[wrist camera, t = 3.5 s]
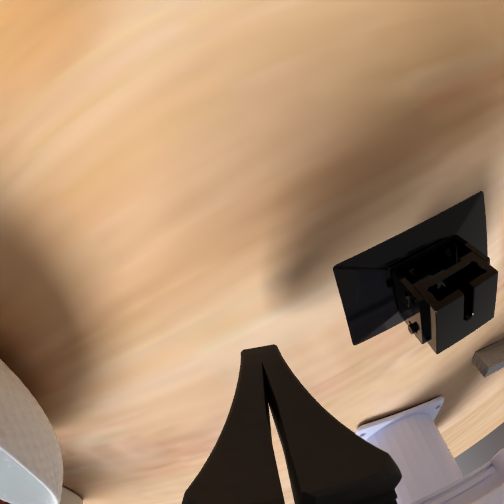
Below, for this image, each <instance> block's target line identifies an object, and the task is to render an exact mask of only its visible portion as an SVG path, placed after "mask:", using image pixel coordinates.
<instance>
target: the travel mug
mask: <svg viewBox="0 0 504 504" xmlns="http://www.w3.org/2000/svg"><path fill="white" fill-rule="evenodd" d="M59 504H83V500H82V499H81V498H80V497H79V496H78V495H77V494H75V493H74V492H72V491H71V490H69V489H67V488H65V487H63V486H62V493H61V501H60V503H59Z"/></svg>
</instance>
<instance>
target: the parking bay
mask: <svg viewBox="0 0 504 504" xmlns="http://www.w3.org/2000/svg"><path fill="white" fill-rule="evenodd" d="M472 362H473V363H474V364H475V366H476V367H477V368H478V370H479V371H480V372H481V374H482V375H483V376H484V377H487V376H488V375H490V374H492V373H494V372H496V371H498V370H499V369H501V368H503V367H504V339H502V340H500V341H498V342H496V343H494V344H492V345H490V346H488V347H486V348H483V349H481V350H479V351H477V352H476V353H475V355H474V357H473V359H472Z"/></svg>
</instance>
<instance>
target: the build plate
mask: <svg viewBox="0 0 504 504" xmlns="http://www.w3.org/2000/svg"><path fill="white" fill-rule="evenodd" d="M333 272H334V275H335V279H336V282H337V286H338V289H339V293H340V297H341V300H342V304H343V308H344V311H345V315H346V319H347V323H348V327H349V331H350V335H351V338H352V343H353V345H357V344H359V343H362V342H364V341H366V340H368V339H370V338H372V337H374V336H376V335H378V334H380V333H382V332H384V331H386V330H388V329H390V328H392V327H394V326H396V325H397V324H399V323H401V322H403V321H405V322H406V324H407V325H408V330H409V332H410V333H411V334H415V336H416V337H417V338H418V340H419V341H420V342H421V344H424V343H426V342H428V344H429V345H430V346H431V348H432V349H433V350H434V352H435V353H436V354H439V353H440V352H442V351H444V350H445V349H447V348H448V347H450V346H452V345H453V344H455V343H456V342H458V341H460V340H461V339H463V338H464V337H466V336H467V335H469V334H470V333H472V332H473V331H475V330H476V329H478V328H479V327H481V326H482V325H484V324H485V323H486V322H488V321H489V320H491V319H492V318H493V317H494V310H495V302H496V292H497V280H498V271H497V270H496V269H494V268H493V267H492V266H491V265H490V259H489V257H487V231H486V216H485V204H484V195H483V192H482V191H480V192H479V193H477V194H475V195H473V196H471V197H469V198H468V199H466V200H464V201H462V202H460V203H458V204H456V205H455V206H453V207H451V208H449V209H447V210H445V211H443V212H441V213H439V214H438V215H436V216H434V217H432V218H430V219H428V220H426V221H424V222H422V223H420V224H418V225H416V226H414V227H412V228H410V229H408V230H406V231H404V232H402V233H400V234H398V235H396V236H394V237H392V238H390V239H388V240H386V241H384V242H382V243H380V244H378V245H376V246H374V247H372V248H370V249H368V250H366V251H364V252H362V253H360V254H358V255H356V256H354V257H352V258H349V259H347V260H345V261H343V262H341V263H339V264H337V265H335V266H334V267H333Z"/></svg>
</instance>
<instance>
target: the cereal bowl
mask: <svg viewBox="0 0 504 504" xmlns="http://www.w3.org/2000/svg"><path fill="white" fill-rule="evenodd" d="M62 484H63V460H62V452H61V449H60V445H59V442H58V440H57V435H56V433H55V432H54V430H53V427H52V425H51V424H50V422H49V419H48V417H47V416H46V415H45V413H44V411H43V409H42V408H41V406H40V405H39V404H38V402H37V400H36V399H35V398H34V397H33V395H32V394H31V392H30V391H29V390H28V388H27V387H25V385H24V384H23V383H22V381H21V380H20V379H19V378H18V377H17V376H16V375H15V374H14V372H13V371H11V370H10V369H9V368H8V366H7V365H5V363H4V362H3V361H2V360H1V359H0V500H3V501H6V502H8V503H11V504H59V503H60V501H61V493H62Z"/></svg>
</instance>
